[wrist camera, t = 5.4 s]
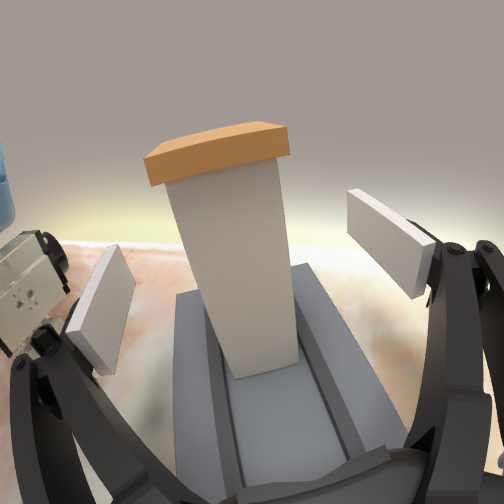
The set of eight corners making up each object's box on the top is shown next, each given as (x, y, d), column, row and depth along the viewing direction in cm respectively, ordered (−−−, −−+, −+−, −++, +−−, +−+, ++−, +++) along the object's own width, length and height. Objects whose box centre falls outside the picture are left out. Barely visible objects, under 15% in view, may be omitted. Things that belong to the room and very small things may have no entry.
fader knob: (307, 365, 15) (286, 126, 8) (228, 385, 15) (143, 159, 8) (286, 314, 19) (257, 121, 12) (220, 330, 19) (162, 142, 12)
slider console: (452, 550, 2) (470, 550, 1) (211, 618, 2) (198, 628, 1) (307, 271, 25) (306, 253, 24) (180, 302, 24) (172, 285, 23)
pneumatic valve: (17, 384, 16) (-57, 286, 10) (78, 310, 25) (28, 213, 19) (39, 409, 14) (-55, 297, 8) (108, 320, 23) (51, 208, 17)
